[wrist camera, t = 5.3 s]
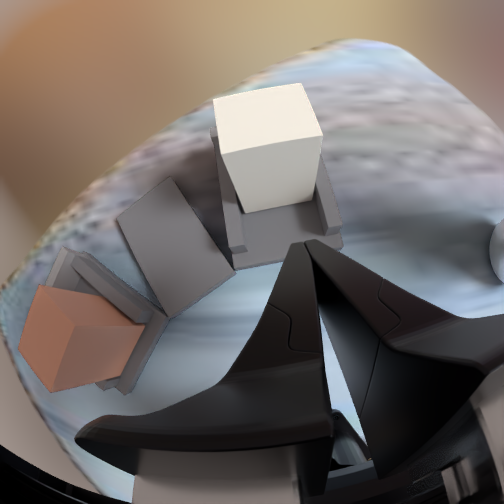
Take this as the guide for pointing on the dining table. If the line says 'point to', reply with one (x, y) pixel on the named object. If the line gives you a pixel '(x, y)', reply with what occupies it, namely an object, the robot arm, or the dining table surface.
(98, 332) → the terracotta key
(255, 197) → the cream key
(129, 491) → the dining table surface
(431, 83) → the dining table surface
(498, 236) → the plastic bottle
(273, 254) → the grey tray
